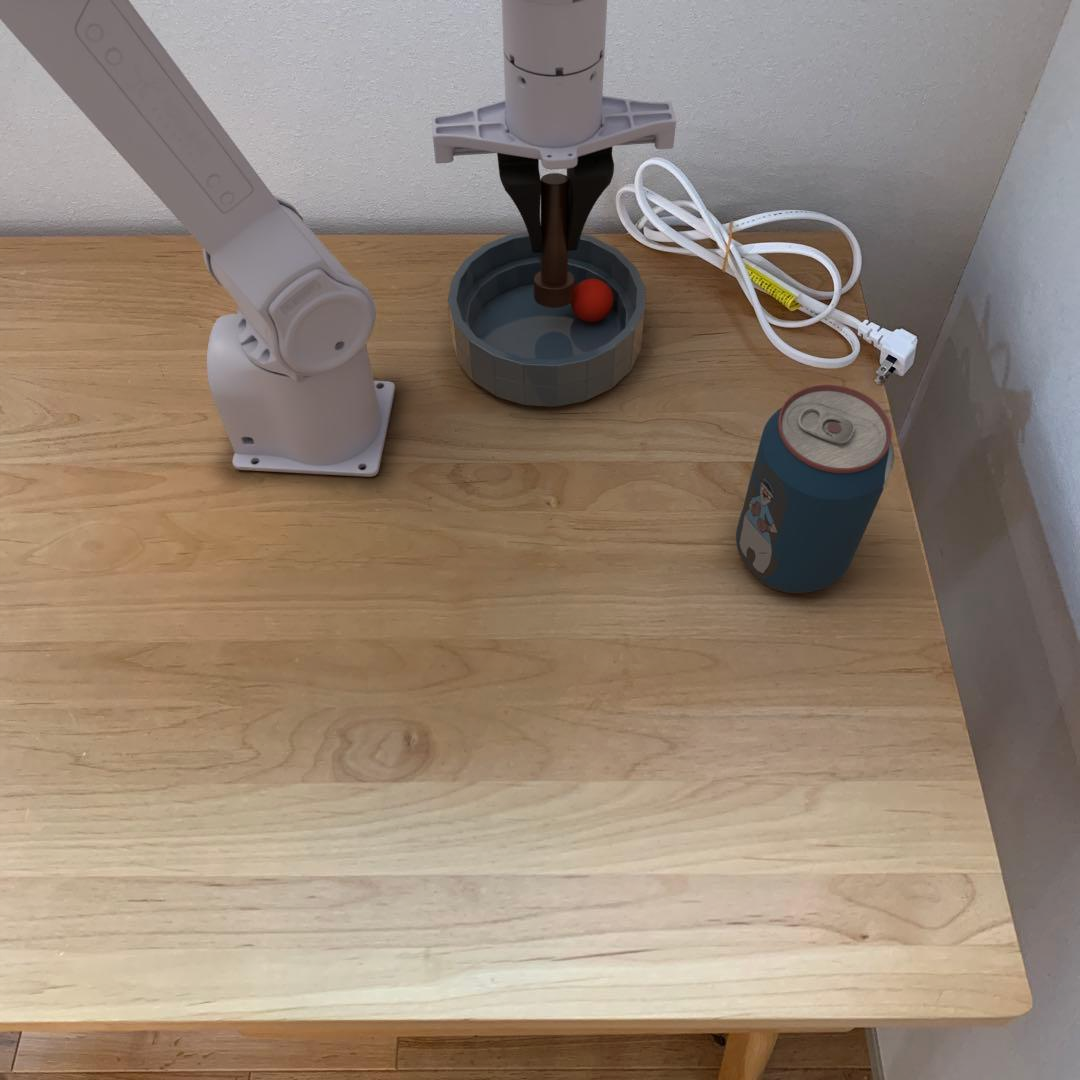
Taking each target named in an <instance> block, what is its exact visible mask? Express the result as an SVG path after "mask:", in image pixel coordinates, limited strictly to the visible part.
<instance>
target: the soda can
mask: <svg viewBox="0 0 1080 1080" xmlns="http://www.w3.org/2000/svg"><path fill="white" fill-rule="evenodd" d="M892 433H893V431H892V425H891V422H890V420H889V417H888V416H887V413H886V412H885V411H884V410H883V408H882V407H881V406H880V405H879V404H878V402H876V401H875V400H874V399H873V398H872V397H870V396H868V395H867V394H864V393H863V392H861V391H858V390H856V389H854V388H850V387H846V386H843V385H838V384H837V385H836V384H818V385H811V386H808V387H805V388H802V389H800V390H798V391H796V392H794V394H792V395H790V397H788V398H787V399H786V401H785V402H784V403H783V405H782V406H781V407H780V408H778V409H777V410H776V411H775V412H774V413H773V414H772V415H771V416H770V417H769V418H768V420H767V422H766V423H765V425H764V427H763V430H762V433H761V436H760V440H759V445H758V448H757V452H756V457H755V460H754V463H753V467H752V470H751V474H750V479H749V482H748V485H747V489H746V493H745V496H744V500H743V504H742V508H741V511H740V514H739V515H740V516H739V519H738V523H737V527H736V530H735V531H736V532H735V541H736V549H737V551H738V553H739V556H740V558H741V560H742V562H743V563H744V566H746V568H747V569H748V570H749V571H750V572H751V574H752V575H753V576H755V578H757V579H758V580H759V581H760V582H761V583H763V584H764V585H766V586H768V587H770V588H771V589H774V590H777V591H779V592H783V593H788V594H789V593H790V594H803V593H804V594H805V593H811V592H816V591H820V590H822V589H825V588H829V587H830V586H831V585H833V584H835V583H836V582H838V581H839V580H840V579H842V577H843V576H844V575H845V574H846V573H847V571H848V570H849V568H850V566H851V564H852V562H853V559H854V557H855V554H856V553H857V550H858V548H859V546H860V543H861V541H862V539H863V538H864V534H865V532H866V531H867V528H868V525H869V524H870V521H871V519H872V516H873V514H874V512H875V510H876V507H877V505H878V503H879V500H880V499H881V496H882V494H883V491H884V489H885V487H886V485H887V482H888V480H889V478H890V475H891V474H892V471H893V468H894V463H895V449H894V445H893V441H892V436H893V434H892Z"/></svg>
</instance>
